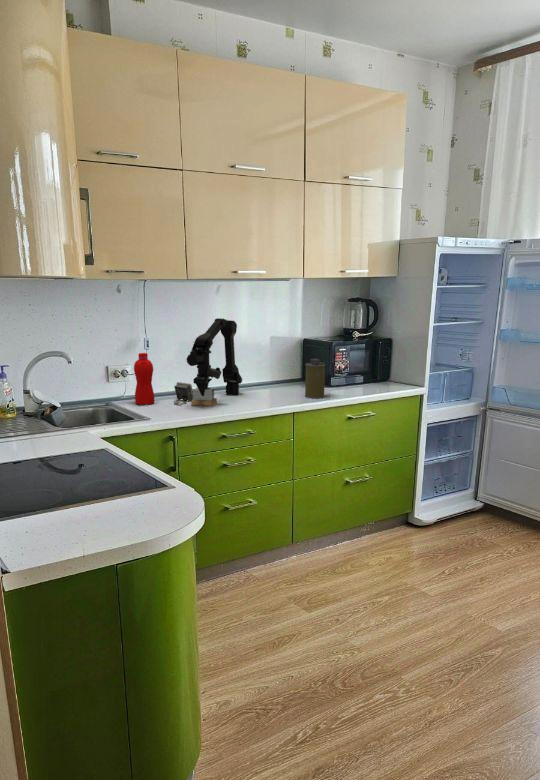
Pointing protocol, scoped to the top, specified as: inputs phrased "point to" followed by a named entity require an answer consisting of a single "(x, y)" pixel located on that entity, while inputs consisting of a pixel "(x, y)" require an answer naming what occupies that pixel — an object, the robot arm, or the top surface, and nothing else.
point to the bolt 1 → (177, 403)
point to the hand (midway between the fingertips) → (204, 394)
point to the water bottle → (144, 380)
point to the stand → (203, 402)
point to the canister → (315, 379)
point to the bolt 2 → (181, 402)
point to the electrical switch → (184, 391)
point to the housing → (204, 394)
